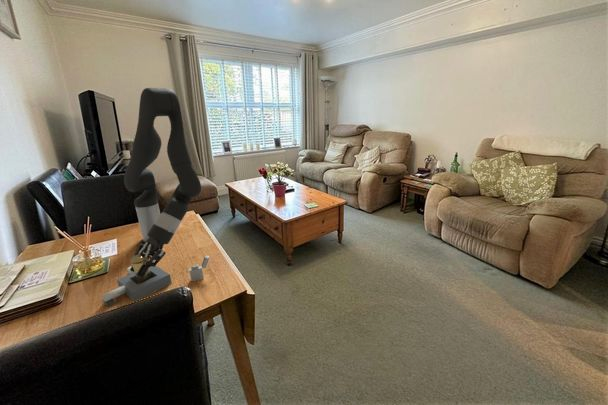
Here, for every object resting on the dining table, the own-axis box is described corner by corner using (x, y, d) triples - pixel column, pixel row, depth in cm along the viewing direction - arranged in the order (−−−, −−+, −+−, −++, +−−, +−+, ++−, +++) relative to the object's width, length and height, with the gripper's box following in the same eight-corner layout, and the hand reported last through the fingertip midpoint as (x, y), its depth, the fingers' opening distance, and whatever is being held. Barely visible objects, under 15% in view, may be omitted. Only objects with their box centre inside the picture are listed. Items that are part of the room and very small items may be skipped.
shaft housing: (93, 292, 90) (90, 283, 89) (148, 267, 104) (146, 259, 103) (113, 312, 80) (110, 302, 79) (171, 282, 94) (169, 274, 93)
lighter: (191, 281, 94) (187, 261, 92) (191, 278, 96) (187, 259, 93) (212, 276, 97) (209, 256, 95) (211, 273, 99) (208, 254, 96)
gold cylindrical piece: (134, 282, 92) (127, 258, 89) (148, 275, 96) (142, 252, 93) (140, 287, 89) (134, 262, 86) (155, 280, 93) (149, 256, 90)
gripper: (145, 219, 96) (116, 264, 91) (166, 228, 88) (135, 277, 83) (163, 227, 102) (136, 270, 97) (184, 236, 94) (156, 283, 88)
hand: (136, 273), depth 90 cm, fingers closed on gold cylindrical piece, 4 cm apart
